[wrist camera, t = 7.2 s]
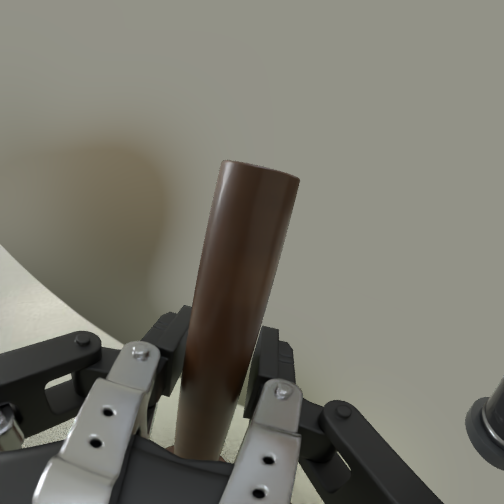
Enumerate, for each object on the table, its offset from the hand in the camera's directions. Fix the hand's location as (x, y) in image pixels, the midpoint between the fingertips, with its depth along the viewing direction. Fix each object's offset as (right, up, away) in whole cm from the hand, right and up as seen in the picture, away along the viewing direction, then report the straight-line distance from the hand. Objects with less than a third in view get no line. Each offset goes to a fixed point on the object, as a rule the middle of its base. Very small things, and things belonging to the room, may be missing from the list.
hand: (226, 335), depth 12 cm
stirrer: (-2, -9, -1) cm, 9 cm away
